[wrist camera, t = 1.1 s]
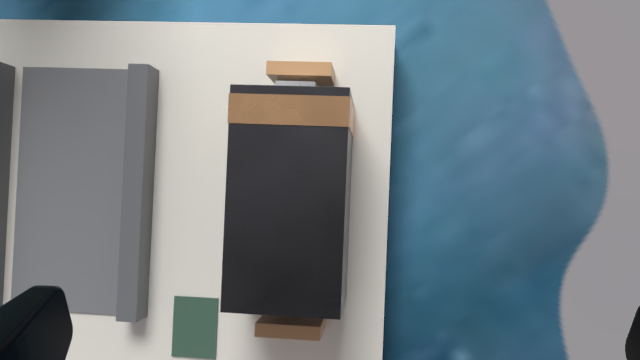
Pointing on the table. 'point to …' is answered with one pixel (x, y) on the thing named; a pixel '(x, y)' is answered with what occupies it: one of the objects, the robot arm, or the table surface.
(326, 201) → the battery
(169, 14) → the table surface
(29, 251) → the cradle
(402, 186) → the table surface
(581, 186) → the table surface
